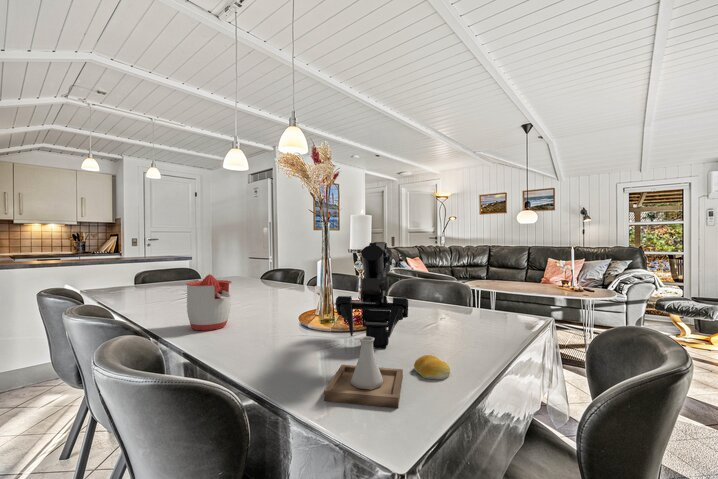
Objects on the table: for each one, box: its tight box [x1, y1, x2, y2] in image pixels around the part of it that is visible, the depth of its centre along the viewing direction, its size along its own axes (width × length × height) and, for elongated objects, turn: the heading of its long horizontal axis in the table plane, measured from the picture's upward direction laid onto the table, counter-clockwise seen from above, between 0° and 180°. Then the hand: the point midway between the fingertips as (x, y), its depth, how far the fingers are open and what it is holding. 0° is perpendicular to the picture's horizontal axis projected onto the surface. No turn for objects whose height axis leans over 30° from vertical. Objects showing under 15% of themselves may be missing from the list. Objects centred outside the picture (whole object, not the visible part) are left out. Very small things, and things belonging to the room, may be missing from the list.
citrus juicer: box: [186, 274, 232, 332], centre depth 126 cm, size 16×17×20 cm
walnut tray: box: [323, 364, 404, 409], centre depth 74 cm, size 15×15×2 cm
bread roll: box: [413, 354, 451, 380], centre depth 83 cm, size 8×9×4 cm
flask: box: [350, 335, 383, 390], centre depth 74 cm, size 7×7×10 cm
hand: (370, 335), depth 82 cm, fingers open, 9 cm apart
